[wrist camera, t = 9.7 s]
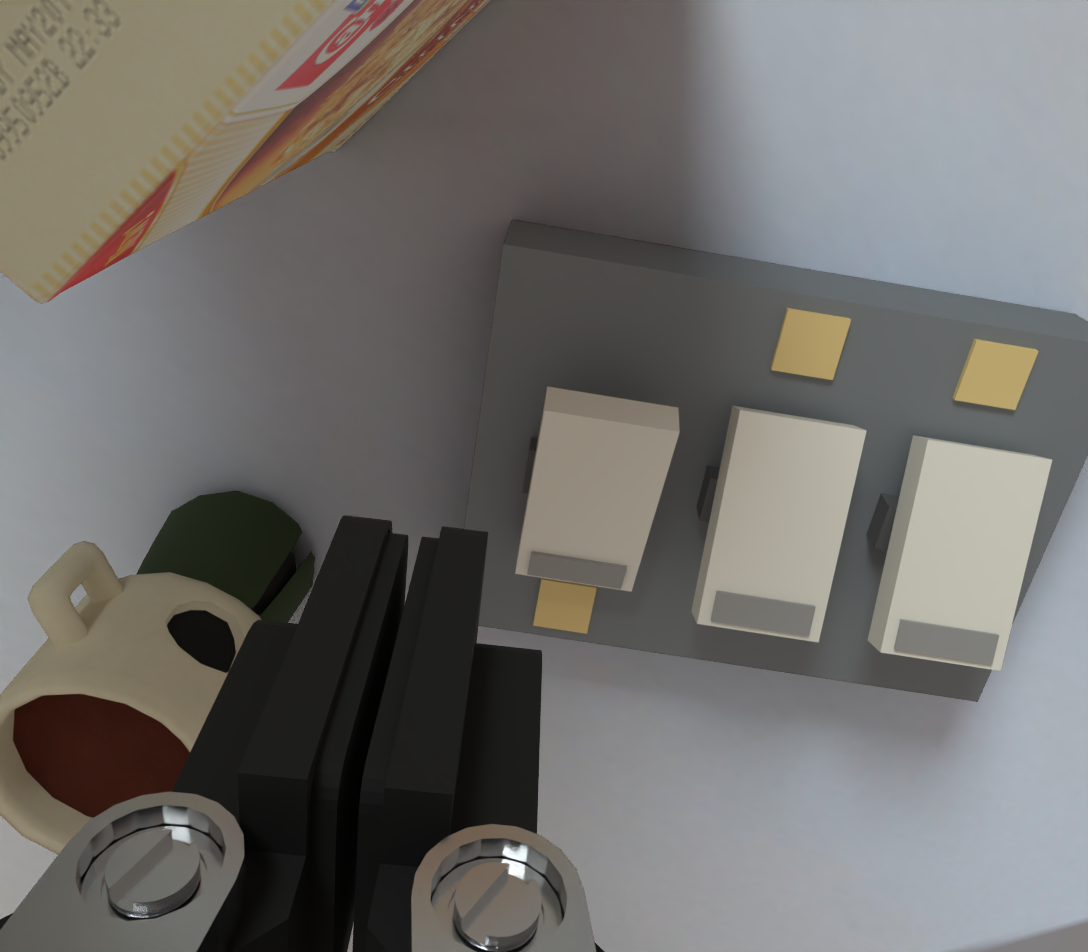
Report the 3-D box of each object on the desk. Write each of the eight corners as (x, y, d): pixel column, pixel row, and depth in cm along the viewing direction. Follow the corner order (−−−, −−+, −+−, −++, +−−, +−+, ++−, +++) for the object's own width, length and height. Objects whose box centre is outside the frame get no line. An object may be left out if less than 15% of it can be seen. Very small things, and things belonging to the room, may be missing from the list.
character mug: (372, 638, 40) (287, 889, 29) (221, 676, 42) (80, 932, 30) (265, 409, 36) (112, 595, 24) (100, 458, 37) (-122, 658, 26)
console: (511, 219, 33) (500, 251, 28) (1075, 314, 33) (1152, 359, 29) (463, 565, 39) (447, 637, 34) (941, 639, 39) (987, 719, 35)
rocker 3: (912, 435, 31) (929, 440, 30) (1032, 454, 31) (1054, 460, 30) (867, 640, 32) (881, 654, 31) (983, 658, 32) (1002, 672, 31)
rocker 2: (732, 405, 31) (741, 410, 29) (853, 425, 31) (868, 431, 29) (691, 611, 32) (697, 625, 30) (808, 629, 32) (820, 644, 31)
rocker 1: (547, 386, 29) (544, 413, 28) (678, 407, 29) (679, 435, 28) (518, 548, 33) (514, 576, 32) (631, 566, 33) (631, 595, 32)
